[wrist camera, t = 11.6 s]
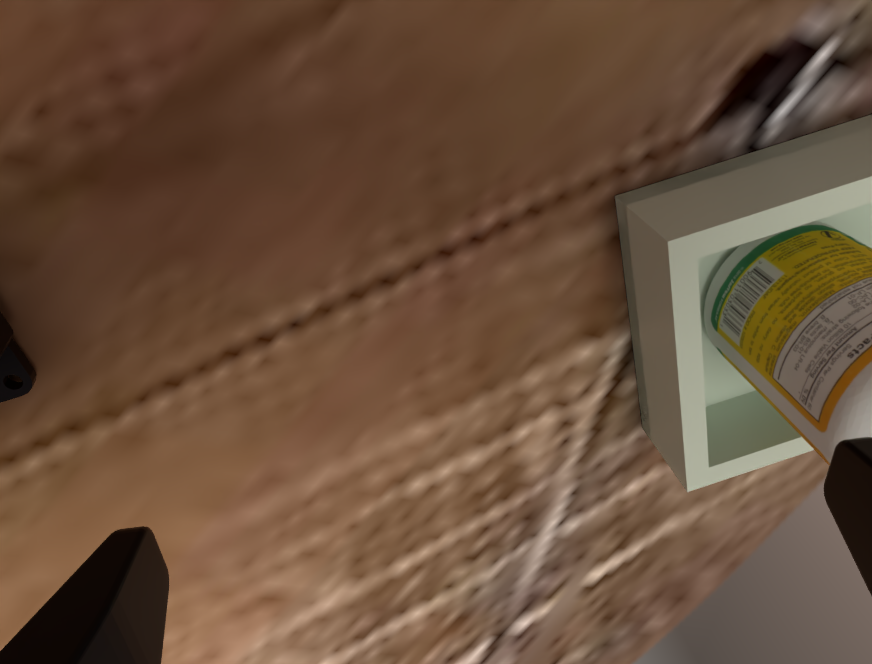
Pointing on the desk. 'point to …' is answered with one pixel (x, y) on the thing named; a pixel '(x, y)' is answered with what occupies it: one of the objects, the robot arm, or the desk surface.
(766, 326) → the supplement bottle
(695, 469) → the tray
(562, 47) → the desk surface
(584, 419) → the desk surface
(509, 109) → the desk surface
